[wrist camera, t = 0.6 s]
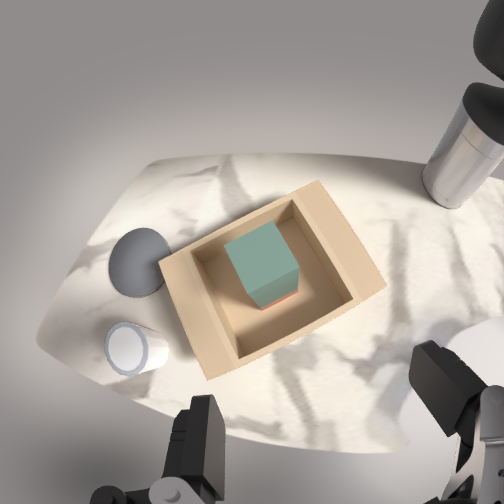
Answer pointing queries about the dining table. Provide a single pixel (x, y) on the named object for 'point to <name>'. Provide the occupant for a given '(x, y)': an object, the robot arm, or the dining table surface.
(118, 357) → the white cup
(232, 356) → the carton
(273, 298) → the box
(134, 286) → the slate plate
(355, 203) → the dining table surface
